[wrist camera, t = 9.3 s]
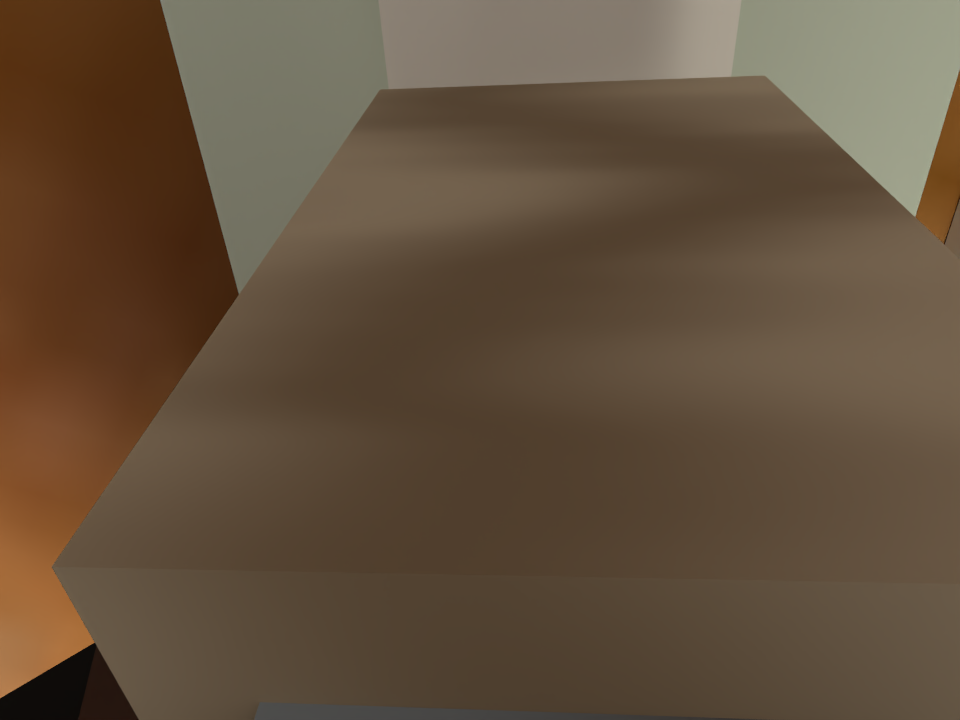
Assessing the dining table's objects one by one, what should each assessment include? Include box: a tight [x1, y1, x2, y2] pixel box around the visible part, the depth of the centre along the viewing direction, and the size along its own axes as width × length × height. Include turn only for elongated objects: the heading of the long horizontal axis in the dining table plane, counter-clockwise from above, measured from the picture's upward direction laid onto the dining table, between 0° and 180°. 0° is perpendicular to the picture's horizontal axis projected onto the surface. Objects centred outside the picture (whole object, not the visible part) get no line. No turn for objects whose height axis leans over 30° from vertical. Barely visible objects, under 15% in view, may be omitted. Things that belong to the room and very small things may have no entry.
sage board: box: [160, 0, 960, 294], centre depth 17 cm, size 18×16×2 cm
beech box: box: [52, 75, 960, 720], centre depth 8 cm, size 5×8×8 cm, turn 3°
